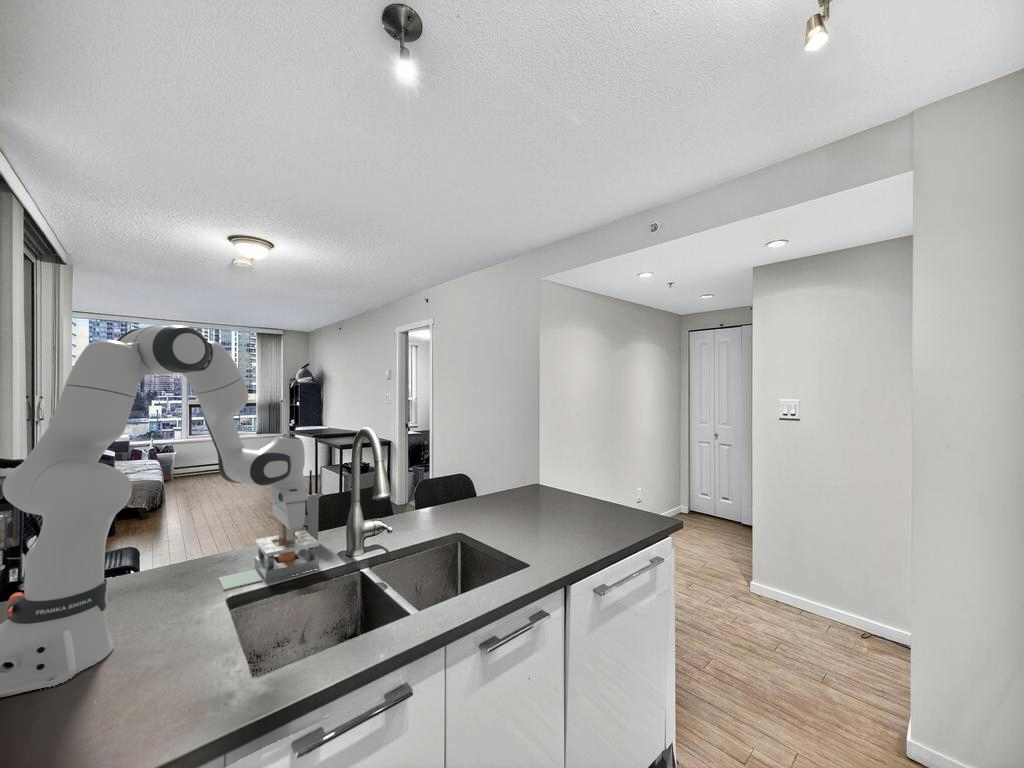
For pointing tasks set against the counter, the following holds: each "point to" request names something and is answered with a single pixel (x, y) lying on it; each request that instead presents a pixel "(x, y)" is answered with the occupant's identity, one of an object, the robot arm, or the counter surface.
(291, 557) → the breaker button
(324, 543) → the counter surface
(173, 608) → the counter surface
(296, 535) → the grey box with top
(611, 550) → the counter surface
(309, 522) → the vintage mobile phone
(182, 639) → the counter surface
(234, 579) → the sage mat
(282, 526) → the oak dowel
